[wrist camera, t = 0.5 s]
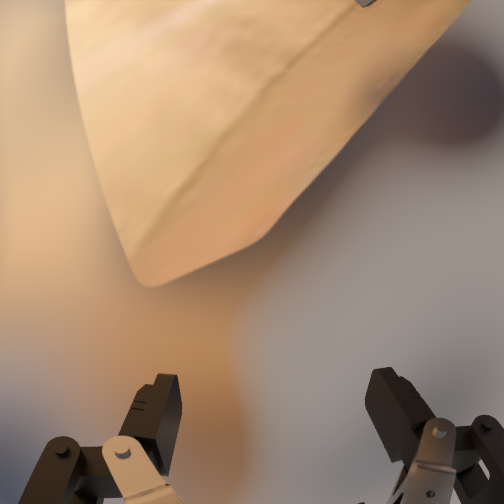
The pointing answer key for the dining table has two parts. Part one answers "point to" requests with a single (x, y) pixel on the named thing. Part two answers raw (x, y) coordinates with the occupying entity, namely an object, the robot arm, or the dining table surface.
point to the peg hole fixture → (363, 2)
